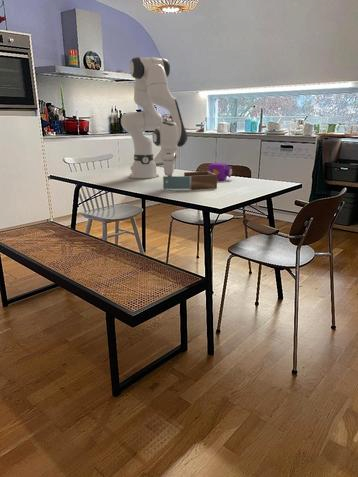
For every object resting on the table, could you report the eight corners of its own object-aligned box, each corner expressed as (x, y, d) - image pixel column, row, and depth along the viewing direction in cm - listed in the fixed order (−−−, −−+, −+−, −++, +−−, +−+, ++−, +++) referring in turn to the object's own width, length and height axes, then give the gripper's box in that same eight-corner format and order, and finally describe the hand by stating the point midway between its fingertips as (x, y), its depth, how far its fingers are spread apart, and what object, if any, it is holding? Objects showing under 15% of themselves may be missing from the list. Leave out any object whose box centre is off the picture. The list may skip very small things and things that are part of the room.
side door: (163, 189, 193) (162, 176, 191) (163, 188, 195) (163, 176, 193) (191, 189, 193) (191, 176, 191) (191, 188, 195) (191, 176, 193)
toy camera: (231, 181, 218) (232, 163, 215) (208, 180, 221) (208, 163, 218) (232, 178, 228) (233, 161, 225) (210, 177, 231) (210, 161, 228)
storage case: (184, 185, 208) (184, 172, 206) (208, 183, 211) (208, 171, 209) (191, 189, 195) (191, 176, 193) (216, 187, 199) (217, 174, 196)
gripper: (165, 152, 201) (165, 177, 206) (161, 156, 182) (162, 185, 186) (176, 152, 201) (177, 177, 205) (174, 156, 181) (174, 185, 186)
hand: (169, 181), depth 196 cm, fingers closed
